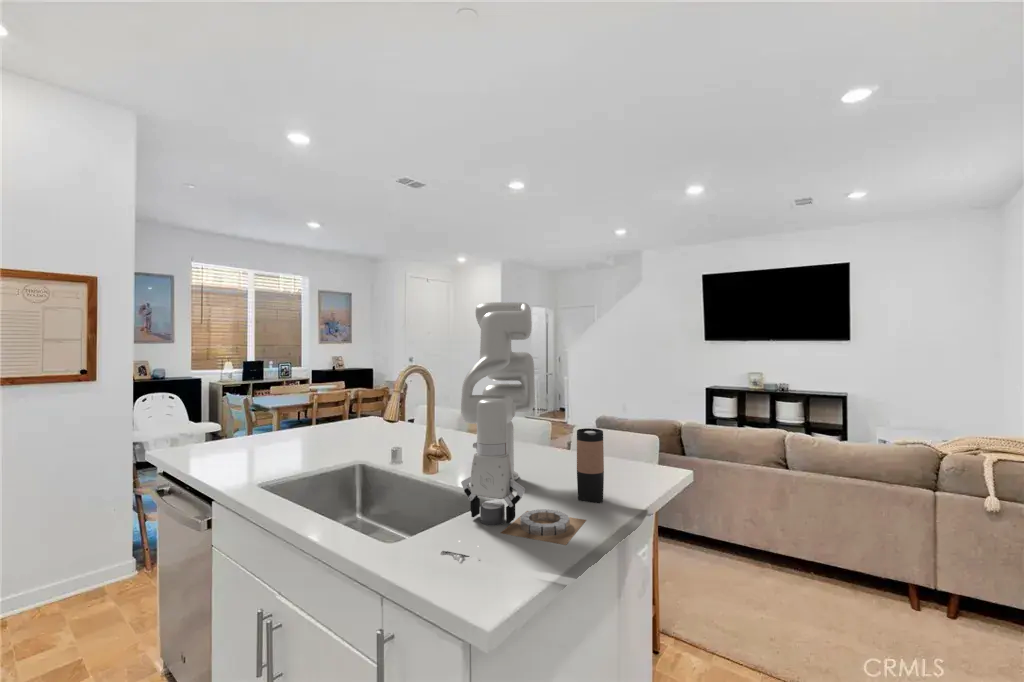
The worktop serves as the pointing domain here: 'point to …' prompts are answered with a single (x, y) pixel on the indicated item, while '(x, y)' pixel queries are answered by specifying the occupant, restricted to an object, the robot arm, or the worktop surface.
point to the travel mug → (590, 465)
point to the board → (559, 539)
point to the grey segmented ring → (544, 529)
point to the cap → (492, 513)
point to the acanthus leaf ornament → (455, 555)
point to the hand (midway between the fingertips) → (492, 518)
